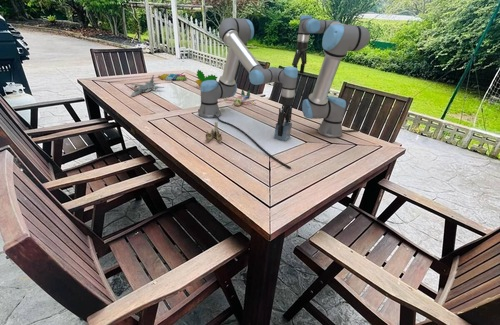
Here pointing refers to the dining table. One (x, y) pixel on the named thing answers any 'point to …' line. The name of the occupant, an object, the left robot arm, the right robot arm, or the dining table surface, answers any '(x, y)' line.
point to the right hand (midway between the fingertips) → (297, 74)
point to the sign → (172, 77)
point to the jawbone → (214, 134)
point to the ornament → (202, 77)
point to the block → (286, 131)
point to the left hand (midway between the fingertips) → (282, 133)
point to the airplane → (145, 87)
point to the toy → (241, 99)
